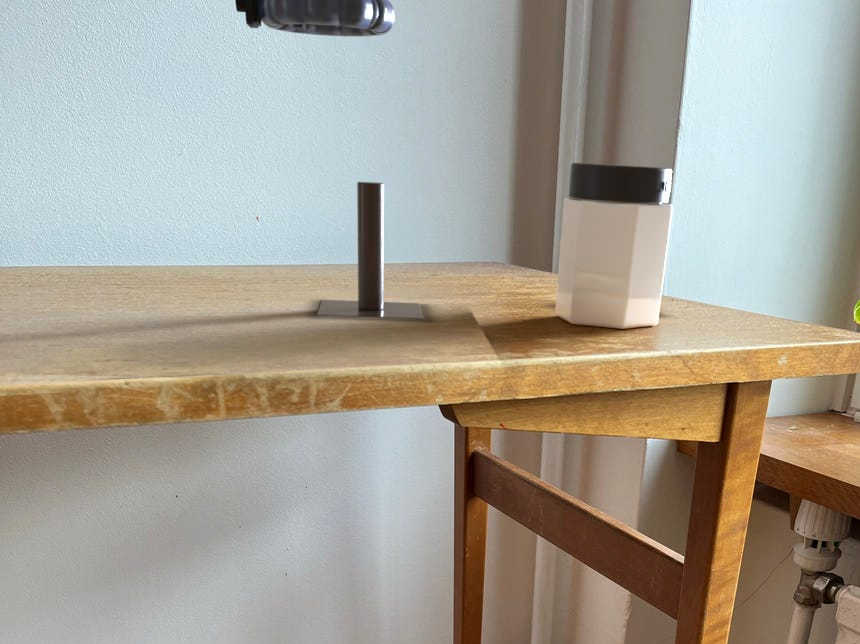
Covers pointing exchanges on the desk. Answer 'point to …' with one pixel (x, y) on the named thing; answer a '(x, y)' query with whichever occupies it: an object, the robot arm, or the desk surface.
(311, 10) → the ring
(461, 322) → the desk surface
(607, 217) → the jar
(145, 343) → the desk surface
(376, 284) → the post
